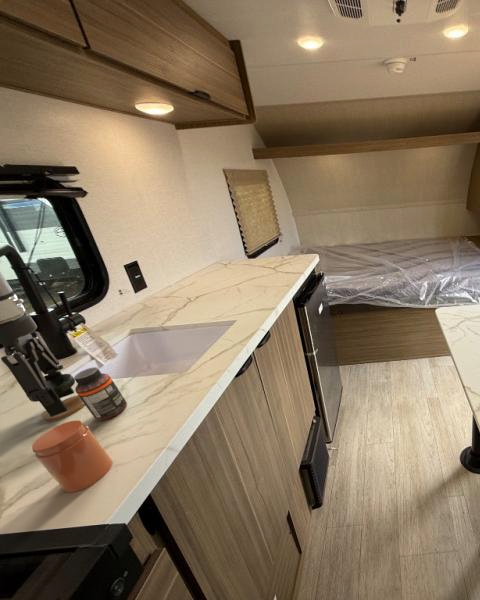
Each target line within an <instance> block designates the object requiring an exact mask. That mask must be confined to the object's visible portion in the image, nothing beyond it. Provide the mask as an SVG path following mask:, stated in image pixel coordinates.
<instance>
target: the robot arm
mask: <svg viewBox="0 0 480 600" xmlns="http://www.w3.org/2000/svg"><path fill="white" fill-rule="evenodd" d="M23 303H24V299H23V298H19V297H18V296H17V295H16V293H15V292H14V290H13V289H12V287H11V286H10V284H9V282H8V281H7V280H6V278H5V276H4V275H3V274H2V272H1V271H0V345H2V347H3V349H4V354H5V355H4V356H1V357H0V359H1V362H2V363H3V364H4V365H5V366H6V367H7V368H8V369H9V371H10V372H11V374H12V375H13V377H14V378H15V380H16V381H17V383H18V385H19V386H20V387H21V389H22V390H23V392H24V393H25V396H26V397H27V398H28V397H32V396H36V398H37V399H38V400H39V401H38V402H39V403H40V404H41V406H42V407H43V408H44V410H45V412H46V411H47V412H48V413H49V415H50V416H51V417H53V416H55V415H58V414H60V413H63V412H66V411H67V410H68V409H67V407H66V406H65V405H64V403H63V402H62V401H63V400H62V398H65V397H68V396H71V395H73V394H74V393H75V390H74V389H73V388H72V387H71V388H69V389H68V390H66V391H65V392H63V393H61V394H59V395H57V394H56V392H55V391H54V390H53V388H52V387H51V388H49V387H48V385H47V383H46V381H45V380H46V379H48V378H51V377H54V376H57V375H61V374H63V373H62V371H61V370H63V369H64V365H63V364H60V361H59V360H58V359H57V358H56V357H55V355H54V354H53V352H51V350H50V349H49V347H48V346H47V345H46V343H45V342H44V341H43V340H42V339H41V337H40V334H39V332H37V331H36V330H37V328H38V325H37V324H36V322H35V321H34V319H33V318H32V316H31V315H30V314H29V313H26V308H25V306H24V305H23Z"/></svg>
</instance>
